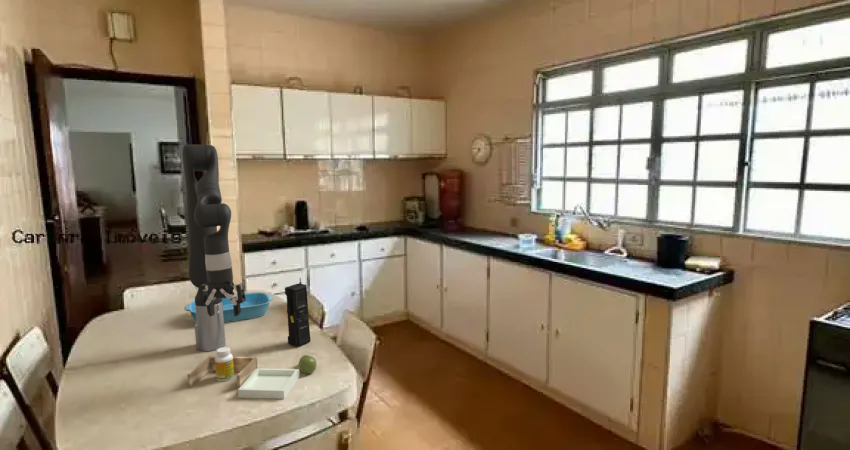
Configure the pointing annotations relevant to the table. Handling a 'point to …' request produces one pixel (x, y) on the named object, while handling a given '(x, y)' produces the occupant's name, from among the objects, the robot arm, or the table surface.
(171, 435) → the table surface
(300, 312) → the portable radio
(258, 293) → the casserole dish
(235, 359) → the frame
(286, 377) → the plastic tray
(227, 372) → the supplement bottle
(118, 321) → the table surface
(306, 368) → the pear
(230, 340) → the table surface
